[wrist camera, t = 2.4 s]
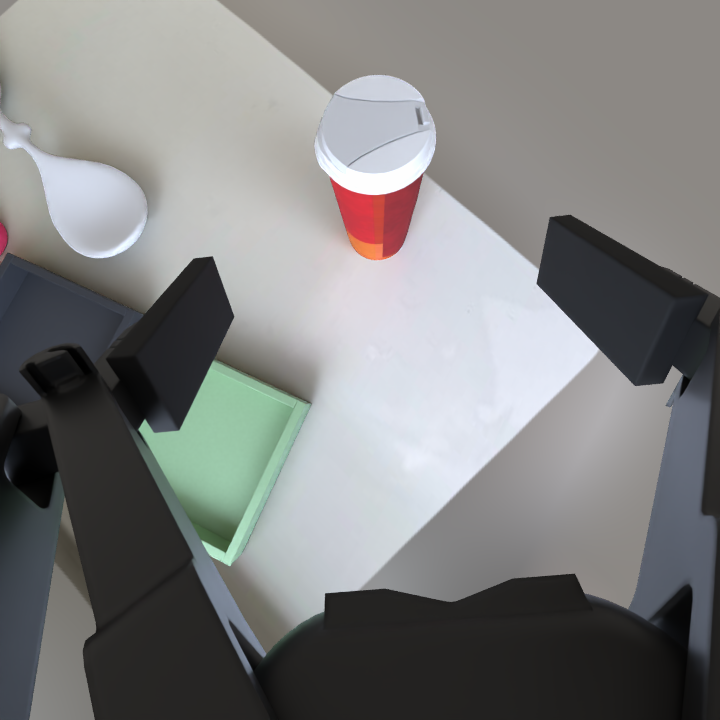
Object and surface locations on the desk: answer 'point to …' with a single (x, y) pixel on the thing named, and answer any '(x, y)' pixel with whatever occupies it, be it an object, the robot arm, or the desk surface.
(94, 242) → the spoon
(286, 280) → the desk surface
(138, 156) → the desk surface
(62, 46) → the desk surface
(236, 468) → the sage tray
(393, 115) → the paper cup
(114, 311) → the charcoal tray
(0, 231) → the fitness band
